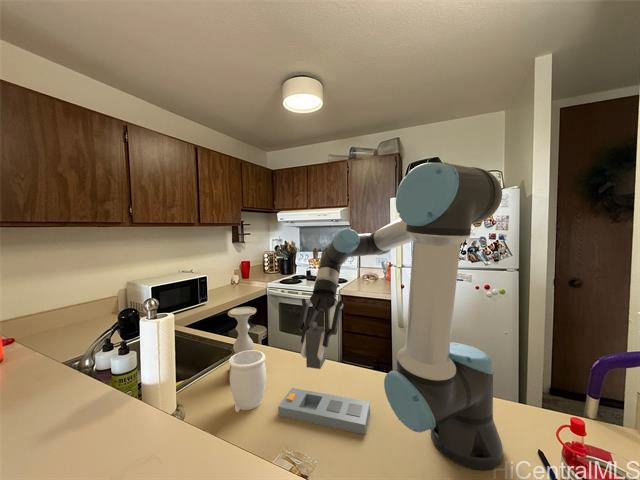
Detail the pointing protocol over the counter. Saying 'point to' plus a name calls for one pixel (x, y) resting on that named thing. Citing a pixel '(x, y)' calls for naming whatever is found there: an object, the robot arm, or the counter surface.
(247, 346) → the candle holder
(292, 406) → the power strip
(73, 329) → the counter surface
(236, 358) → the jar
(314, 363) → the block
